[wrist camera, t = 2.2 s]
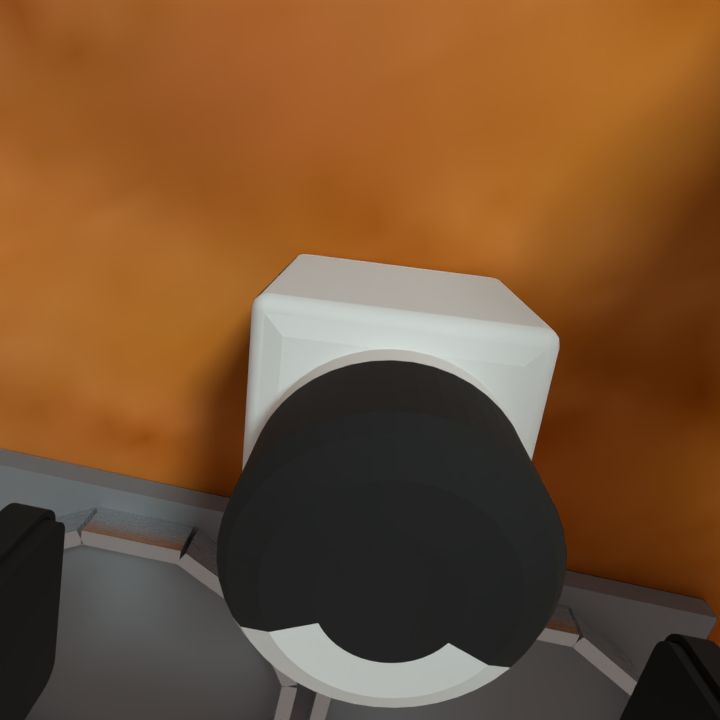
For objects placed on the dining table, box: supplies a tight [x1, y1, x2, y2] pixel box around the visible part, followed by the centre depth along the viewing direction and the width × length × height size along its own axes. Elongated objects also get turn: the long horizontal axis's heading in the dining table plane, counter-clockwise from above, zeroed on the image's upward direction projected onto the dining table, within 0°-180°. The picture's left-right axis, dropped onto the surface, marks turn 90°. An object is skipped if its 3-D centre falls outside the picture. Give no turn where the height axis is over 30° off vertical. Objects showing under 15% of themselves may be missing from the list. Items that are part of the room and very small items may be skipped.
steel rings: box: [56, 507, 640, 720], centre depth 23 cm, size 14×29×2 cm, turn 77°
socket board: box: [0, 449, 718, 720], centre depth 25 cm, size 20×30×1 cm, turn 77°
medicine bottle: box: [216, 254, 567, 708], centre depth 15 cm, size 7×7×12 cm
